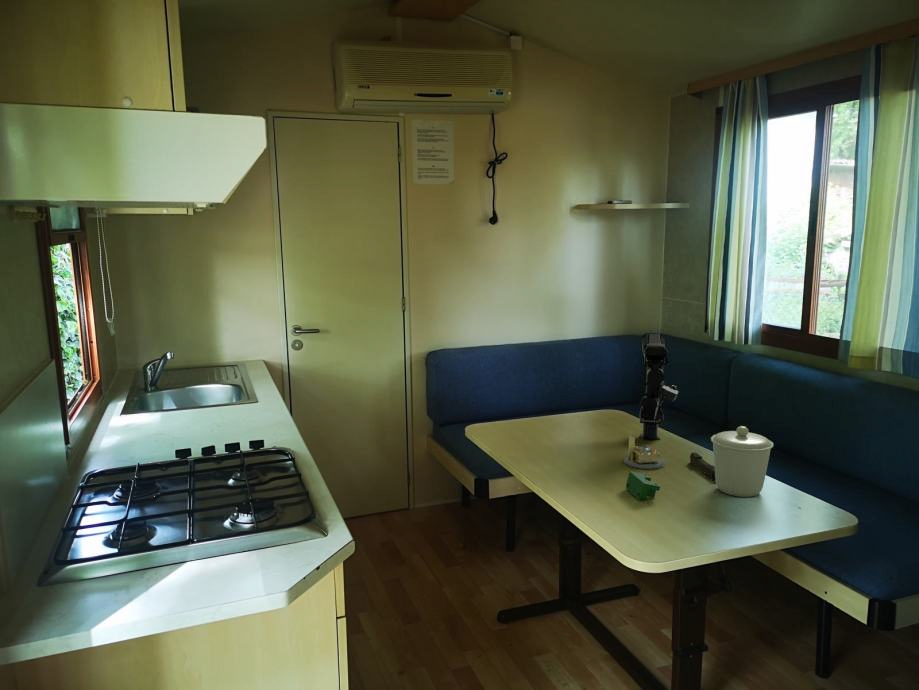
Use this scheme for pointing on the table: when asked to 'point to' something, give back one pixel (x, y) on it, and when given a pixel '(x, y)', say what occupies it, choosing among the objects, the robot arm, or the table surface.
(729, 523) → the table surface
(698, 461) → the dark brown log
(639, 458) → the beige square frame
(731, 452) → the canister
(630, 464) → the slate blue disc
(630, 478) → the green mounting bracket
